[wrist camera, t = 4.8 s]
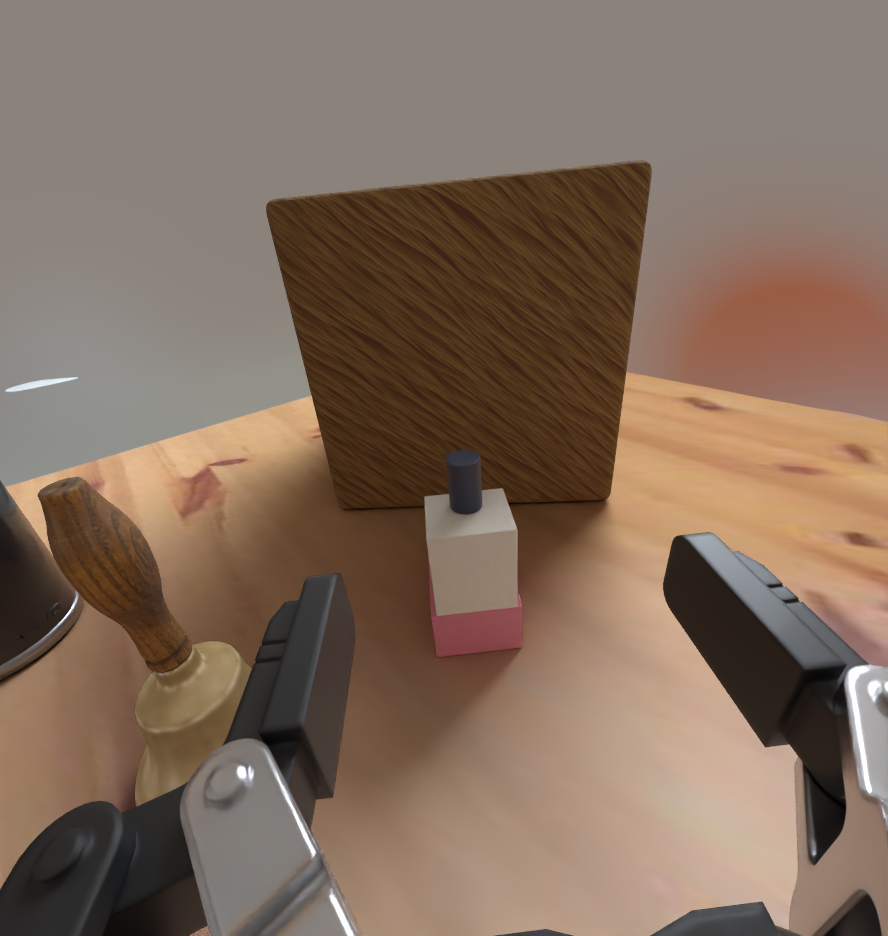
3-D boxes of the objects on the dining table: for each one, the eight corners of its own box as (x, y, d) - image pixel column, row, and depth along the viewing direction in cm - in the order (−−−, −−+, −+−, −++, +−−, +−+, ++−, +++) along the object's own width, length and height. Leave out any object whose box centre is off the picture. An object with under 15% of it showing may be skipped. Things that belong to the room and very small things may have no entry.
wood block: (561, 401, 59) (572, 188, 47) (611, 502, 38) (657, 156, 25) (385, 411, 62) (353, 211, 49) (337, 512, 40) (259, 199, 28)
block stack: (522, 648, 26) (524, 477, 20) (436, 657, 26) (413, 489, 20) (495, 545, 34) (490, 404, 28) (430, 552, 34) (412, 412, 28)
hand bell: (174, 896, 17) (-117, 622, 9) (114, 756, 22) (-108, 502, 14) (340, 728, 22) (245, 463, 14) (261, 646, 27) (159, 416, 19)
